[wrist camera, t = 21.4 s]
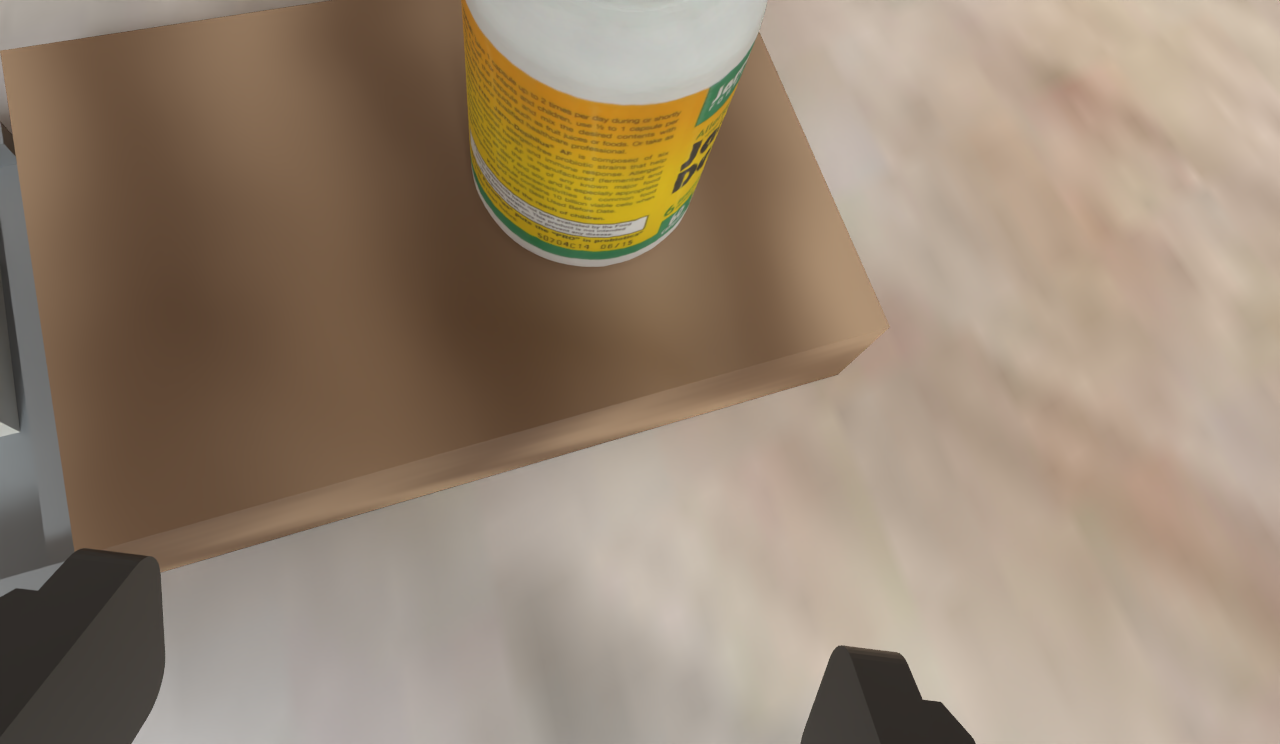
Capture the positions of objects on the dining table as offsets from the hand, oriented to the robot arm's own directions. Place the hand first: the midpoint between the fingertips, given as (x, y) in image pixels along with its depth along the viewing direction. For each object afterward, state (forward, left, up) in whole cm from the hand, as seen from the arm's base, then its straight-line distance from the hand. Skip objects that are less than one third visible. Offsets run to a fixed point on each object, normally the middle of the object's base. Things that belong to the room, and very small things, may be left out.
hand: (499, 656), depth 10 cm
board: (-2, -10, -11) cm, 15 cm away
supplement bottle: (-5, -10, -7) cm, 14 cm away
